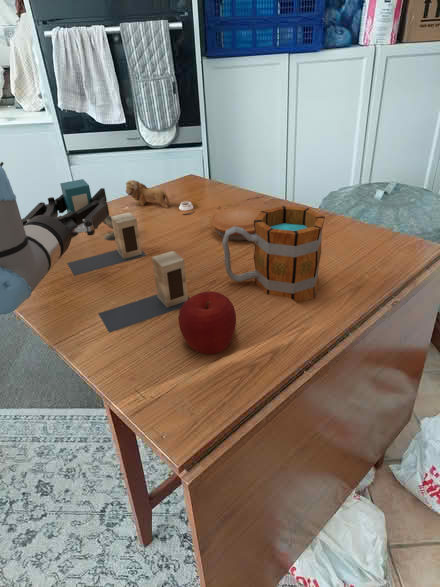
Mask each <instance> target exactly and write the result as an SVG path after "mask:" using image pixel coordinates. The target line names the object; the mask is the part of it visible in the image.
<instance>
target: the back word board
mask: <svg viewBox="0 0 440 587" xmlns="http://www.w3.org/2000/svg"><path fill="white" fill-rule="evenodd" d="M141 251H142V254H141V255H137V256H133V257H130V258H126V259H123V258H122V256H121V255H120V254H119V253H118V251H117V249H114V250H110V251H107V252H103V253H100V254H96V255H92V256H88V257H84V258H80V259H77V260H73V261H69V262H67V263H66V264H67V266H68V267H69V269H70V271H71V274H72V275H73V276H75V277H76V276H79V275H83V274H86V273H89V272H93V271H97V270H100V269H105V268H108V267H111V266H114V265H120V264H122V263H125V262H130V261H133V260H136V259H140V258H143V257H146V256H147V254H146V253H145V252H144V251H143V249H141Z"/></svg>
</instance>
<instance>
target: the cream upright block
mask: <svg viewBox="0 0 440 587" xmlns="http://www.w3.org/2000/svg"><path fill="white" fill-rule="evenodd" d="M151 260H152V268H153V275H154V281H155V289H156V295H157V296H158V298H159V299H160V300H161V301H162V302H163V304H164V305H165V306H166V307H167V308H168V307H171V306H174V305H176V304H179V303H182V302H185V301H186V300H188V297H189V295H188V287H187V286H188V285H187V276H186V267H185V265H186V264H185V259H184V258H183V257H182V256H180V255H179V254H178V253H177V252H176V251H175V250H171V251H167V252H164V253H161V254H157V255H154V256H151Z"/></svg>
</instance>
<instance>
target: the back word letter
mask: <svg viewBox="0 0 440 587" xmlns="http://www.w3.org/2000/svg"><path fill="white" fill-rule="evenodd" d="M111 219H112V225H113V228H112V230H113V232H114V235H115V239H114V241H115V245H116V250H117V251H118V253H119V254H120V255H121V256H122V258H123V259H126V258H130V257H133V256H137V255H141V254H142V251H143V250H142V246H141V239H140V232H139V227H138V221H137V218H136V216H134V214H132V213H131V212H129V211H128V212H125V213H120V214H116V215H111ZM141 250H142V251H141Z"/></svg>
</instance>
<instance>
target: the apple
mask: <svg viewBox="0 0 440 587" xmlns="http://www.w3.org/2000/svg"><path fill="white" fill-rule="evenodd" d="M177 318H178V319H177V320H178V328H179V331H180V333H181V335H182V337H183V339H184V341H185V342H186V344H187V345H188V346H189V347H190V348H191V349H192V350H193V351H195V352H198V353H200V354H204V355H215V354H216V355H217V354H219V353H222V352H224V351H225V350H227V348H228V347H229V346H230V344H231V343H232V341H233V338H234V335H235V331H236V326H237V314H236V310H235V306H234V304H233V303H232V301H231V299H230V298H228V297H227V296H226V295H225V294H223V293H221V292H218V291H202V292H198V293H196V294H194V295H193V296H191V297H189V299H188V300H186V302H185V303H184V304H183V305H182V307H181V308H180V309H179V311H178V317H177Z"/></svg>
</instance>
